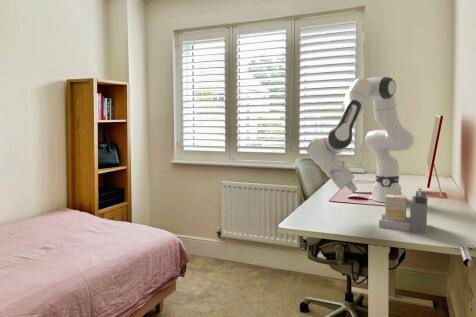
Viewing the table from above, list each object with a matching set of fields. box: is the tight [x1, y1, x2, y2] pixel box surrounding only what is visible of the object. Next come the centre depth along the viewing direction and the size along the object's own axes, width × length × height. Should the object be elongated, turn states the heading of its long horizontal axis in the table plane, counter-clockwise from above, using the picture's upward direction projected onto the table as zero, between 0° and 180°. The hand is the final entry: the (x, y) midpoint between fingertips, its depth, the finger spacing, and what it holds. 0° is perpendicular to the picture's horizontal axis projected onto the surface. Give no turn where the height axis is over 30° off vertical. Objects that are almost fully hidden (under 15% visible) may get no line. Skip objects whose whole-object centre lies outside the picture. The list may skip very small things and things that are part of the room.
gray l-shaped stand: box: [378, 187, 429, 234], centre depth 160 cm, size 14×18×16 cm
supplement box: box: [384, 194, 408, 222], centre depth 161 cm, size 8×5×13 cm, turn 63°
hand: (355, 190), depth 168 cm, fingers closed
